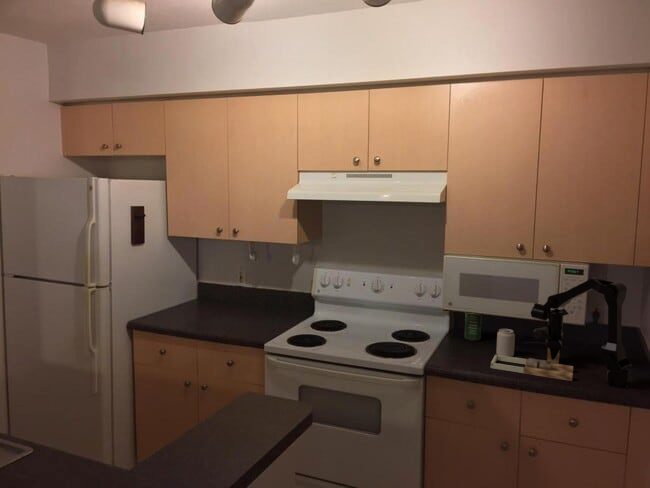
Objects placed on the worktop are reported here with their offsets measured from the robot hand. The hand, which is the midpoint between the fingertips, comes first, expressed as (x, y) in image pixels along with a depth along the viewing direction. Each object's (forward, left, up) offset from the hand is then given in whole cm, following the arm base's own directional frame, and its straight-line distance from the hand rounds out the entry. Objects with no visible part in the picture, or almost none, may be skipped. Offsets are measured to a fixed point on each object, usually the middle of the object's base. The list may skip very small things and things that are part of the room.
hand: (553, 358), depth 227 cm
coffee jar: (+38, -20, -3) cm, 43 cm away
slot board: (+1, +14, -2) cm, 14 cm away
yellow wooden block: (0, 0, -2) cm, 2 cm away
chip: (+2, +14, -2) cm, 14 cm away
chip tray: (+16, +14, -2) cm, 22 cm away
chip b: (+7, +14, -2) cm, 16 cm away
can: (+20, -1, -3) cm, 20 cm away
